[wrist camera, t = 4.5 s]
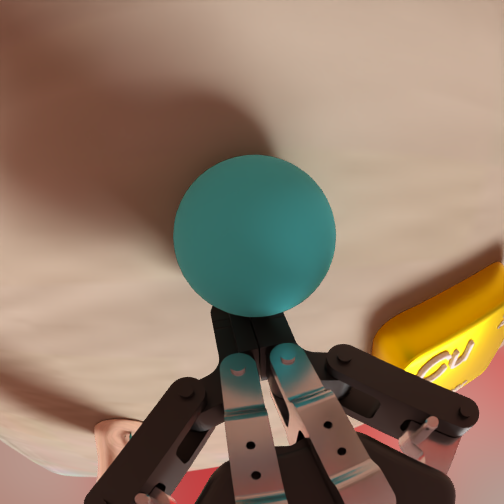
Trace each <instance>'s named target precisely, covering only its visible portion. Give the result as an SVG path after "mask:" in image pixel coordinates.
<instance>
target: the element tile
mask: <svg viewBox="0 0 504 504" xmlns="http://www.w3.org/2000/svg"><path fill="white" fill-rule="evenodd" d="M503 339H504V265H503V264H501V263H500V262H495V263H493V264H491V265H489V266H488V267H486V268H484V269H483V270H481V271H479V272H477V273H476V274H474V275H472V276H471V277H469V278H467V279H465V280H464V281H462V282H460V283H458V284H456V285H455V286H453V287H451V288H449V289H447V290H445V291H443V292H442V293H440V294H438V295H436V296H434V297H432V298H430V299H428V300H426V301H424V302H422V303H420V304H418V305H416V306H414V307H412V308H410V309H408V310H406V311H404V312H402V313H400V314H398V315H397V316H395V317H393V318H392V319H390V320H389V321H388V322H386V323H385V324H384V325H383V326H382V327H381V328H380V329H379V330H378V332H377V334H376V336H375V337H374V340H373V347H372V356H374V357H377V358H379V359H381V360H383V361H385V362H387V363H390V364H392V365H394V366H396V367H398V368H401V369H403V370H405V371H407V372H410V373H412V374H414V375H416V376H419V377H421V378H423V379H425V380H428V381H430V382H432V383H435V384H437V385H439V386H441V387H444V388H446V389H448V390H451V391H453V392H455V391H457V390H458V389H460V388H461V387H463V386H464V385H466V384H467V383H469V382H470V381H472V380H473V379H475V378H476V377H477V376H479V375H480V374H482V373H483V372H484V371H485V369H486V368H487V367H488V365H489V363H490V362H491V360H492V359H493V357H494V355H495V353H496V352H497V350H498V348H499V347H500V345H501V343H502V341H503Z"/></svg>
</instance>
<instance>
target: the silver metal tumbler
mask: <svg viewBox="0 0 504 504" xmlns="http://www.w3.org/2000/svg"><path fill="white" fill-rule="evenodd" d="M142 423H143V422H140V421H135V420H128V419H110V420H104V421H101V422H99V423H98V424H96V426H95V428H94V435H95V442H96V447H97V454H98V474H97V481H96V483H97V482H98V480H99V479H100V478H101V476H102V475H103V474H104V473H105V471H106V470H107V469H108V467H109V466H110V465H111V463H112V462H113V461H114V460H115V458H116V457H117V456H118V454H119V453H120V452H121V450H122V449H123V448H124V447H125V445H126V444H127V443H128V441H129V440H130V439H131V437H132V436H133V435H134V434H135V432H136V431H137V430H138V428H139V427H140V426H141V424H142Z"/></svg>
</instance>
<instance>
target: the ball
mask: <svg viewBox="0 0 504 504" xmlns="http://www.w3.org/2000/svg"><path fill="white" fill-rule="evenodd" d="M173 240H174V249H175V254H176V258H177V262H178V264H179V267H180V269H181V271H182V273H183V275H184V277H185V279H186V280H187V282H188V283H189V284H190V286H191V287H192V288H193V289H194V291H195V292H196V293H197V294H198V295H200V296H201V297H202V298H203V299H204V300H205V301H207V302H208V303H209V304H211V305H213V306H214V307H216V308H218V309H220V310H223V311H225V312H227V313H231V314H234V315H239V316H245V317H265V316H271V315H275V314H278V313H281V312H284V311H286V310H289V309H291V308H293V307H295V306H296V305H298V304H300V303H301V302H303V301H304V300H305V299H306V298H308V297H309V296H310V295H311V294H312V293H313V292H314V291H315V290H316V289H317V287H318V286H319V285H320V283H321V282H322V280H323V279H324V277H325V276H326V274H327V272H328V270H329V267H330V265H331V262H332V259H333V255H334V251H335V242H336V229H335V222H334V217H333V213H332V210H331V207H330V205H329V202H328V200H327V198H326V196H325V195H324V193H323V191H322V190H321V189H320V187H319V186H318V185H317V184H316V183H315V181H314V180H313V179H312V178H311V177H310V176H309V175H308V174H306V173H305V172H304V171H303V170H301V169H300V168H298V167H296V166H295V165H293V164H291V163H289V162H287V161H285V160H282V159H279V158H275V157H271V156H265V155H244V156H238V157H234V158H231V159H227V160H225V161H223V162H220V163H218V164H216V165H215V166H213V167H211V168H209V169H208V170H207V171H205V172H204V173H203V174H201V175H200V176H199V177H198V178H197V179H196V180H195V181H194V182H193V183H192V185H191V186H190V187H189V189H188V190H187V191H186V193H185V195H184V197H183V199H182V201H181V203H180V205H179V208H178V210H177V213H176V218H175V222H174V232H173Z"/></svg>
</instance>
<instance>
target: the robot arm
mask: <svg viewBox="0 0 504 504" xmlns="http://www.w3.org/2000/svg"><path fill="white" fill-rule="evenodd" d="M211 318H212V323H213V328H214V333H215V339H216V344H217V349H218V354H219V364H218V366H217V368H216V369H215V371H214V372H213V373H211V374H210V375H208V376H206V377H204V378H202V379H200V380H198V379H196V378H192V377H184V378H180V379H178V380H176V381H175V382H174V383H173V384H172V385H171V386H170V387H169V389H168V390H167V391H166V393H165V394H164V395H163V397H162V398H161V399H160V401H159V402H158V403H157V405H156V406H155V407H154V409H153V410H152V411H151V413H150V414H149V415H148V416H147V418H146V419H145V420H144V422H143V423H142V424H141V426H140V427H139V428H138V430H137V431H136V432H135V434H134V435H133V436H132V437H131V439H130V440H129V441H128V443H127V444H126V445H125V447H124V448H123V449H122V450H121V452H120V453H119V454H118V456H117V457H116V458H115V460H114V461H113V462H112V463H111V465H110V466H109V467H108V469H107V470H106V471H105V473H104V474H103V475H102V476H101V478H100V479H99V480H98V482H97V483H96V484H95V485H94V487H93V488H92V489H91V490H90V492H89V493H88V494H87V496H86V497H85V500H84V504H177V503H176V501H175V500H174V499H173V498H172V497H171V494H172V493H173V491H174V490H175V488H176V487H177V485H178V484H179V483H180V481H181V479H182V478H183V477H184V475H185V474H186V472H187V471H188V469H189V468H190V466H191V465H192V463H193V462H194V460H195V458H196V457H197V455H198V454H199V452H200V451H201V449H202V448H203V446H204V445H205V443H206V441H207V440H208V438H209V437H210V435H211V434H212V432H213V430H214V429H215V426H217V425H219V424H221V423H222V422H225V430H226V438H227V446H228V453H229V461H227V462H225V463H224V464H222V465H221V466H220V467H219V468H218V469H217V470H216V471H215V472H214V473H213V474H212V475H211V477H210V478H209V480H208V482H207V484H206V485H205V487H204V489H203V490H202V492H201V494H200V496H199V497H198V499H197V501H196V502H195V504H455V488H454V485H453V483H452V481H451V480H450V478H449V477H448V476H447V472H448V470H449V468H450V465H451V463H452V460H453V458H454V455H455V453H456V450H457V447H458V445H459V442H460V439H461V437H462V435H463V434H464V433H466V431H468V430H469V429H470V428H471V427H472V426H473V425H474V424H475V423H476V422H477V420H478V418H479V410H478V406H477V405H476V403H475V402H474V401H473V400H471V399H470V398H467V397H465V396H463V395H460V394H458V393H455V392H453V391H451V390H448V389H446V388H444V387H441V386H439V385H437V384H435V383H432V382H430V381H428V380H425V379H423V378H421V377H419V376H416V375H414V374H412V373H410V372H407V371H405V370H403V369H401V368H398V367H396V366H394V365H392V364H390V363H387V362H385V361H383V360H381V359H379V358H377V357H374V356H372V355H370V354H368V353H366V352H364V351H362V350H359V349H357V348H355V347H353V346H351V345H347V344H340V345H336V346H334V347H332V348H331V349H330V350H329V352H328V353H322V352H310V351H306V350H304V349H302V348H301V347H300V346H299V345H298V344H297V343H296V341H295V339H294V336H293V334H292V332H291V329H290V327H289V325H288V322H287V320H286V318H285V316H284V313H283V312H281V313H278V314H275V315H271V316H265V317H245V316H239V315H234V314H231V313H227V312H225V311H223V310H220V309H218V308H216V307H214V306H212V309H211ZM260 377H261V380H262V381H263V380H267V379H268V382H269V385H270V395H271V397H272V400H273V402H274V404H275V407H276V409H277V412H278V414H279V416H280V419H281V421H282V423H283V426H284V428H285V431H286V434H287V439H288V442H289V445H290V446H274V442H273V437H272V432H271V427H270V423H269V418H268V414H267V410H266V408H265V405H264V400H263V395H262V390H261V385H260ZM346 414H347V415H349V416H350V417H352V418H354V419H356V420H358V421H360V422H362V423H364V424H367V425H369V426H371V427H373V428H375V429H377V430H379V431H381V432H383V433H385V434H388V435H390V436H392V437H394V438H396V439H398V440H399V446H400V449H401V450H402V452H403V453H405V454H406V455H405V454H403V453H401V452H399V451H397V450H395V449H393V448H391V447H389V446H387V445H385V444H383V443H381V442H379V441H377V440H375V439H374V438H371V437H370V436H368V435H365V434H363V433H360V432H356V431H355V430H354V428H353V426H352V424H351V423H350V421H349V419H348V417H347V415H346ZM407 455H408V456H407Z"/></svg>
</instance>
